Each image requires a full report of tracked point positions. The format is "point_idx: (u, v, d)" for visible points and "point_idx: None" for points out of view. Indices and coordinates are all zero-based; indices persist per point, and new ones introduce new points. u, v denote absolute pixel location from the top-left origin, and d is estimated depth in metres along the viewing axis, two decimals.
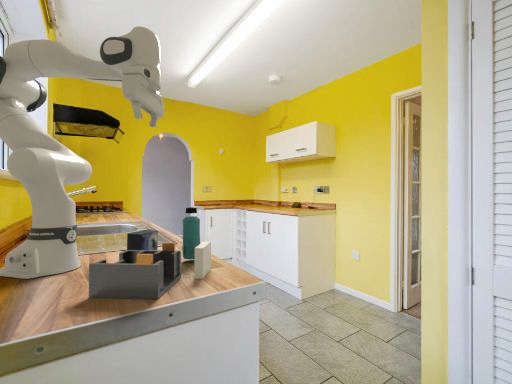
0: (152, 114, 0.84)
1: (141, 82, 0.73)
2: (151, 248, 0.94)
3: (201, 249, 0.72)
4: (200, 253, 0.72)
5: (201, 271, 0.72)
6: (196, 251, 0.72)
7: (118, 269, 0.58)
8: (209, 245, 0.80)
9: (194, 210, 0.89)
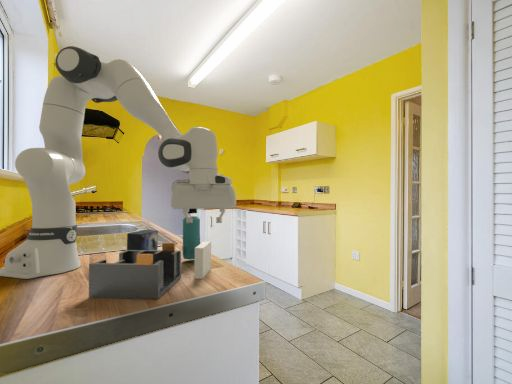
0: (187, 208, 0.77)
1: None
2: (151, 248, 0.94)
3: (201, 249, 0.72)
4: (200, 253, 0.72)
5: (201, 271, 0.72)
6: (196, 251, 0.72)
7: (118, 269, 0.58)
8: (209, 245, 0.80)
9: (194, 210, 0.89)
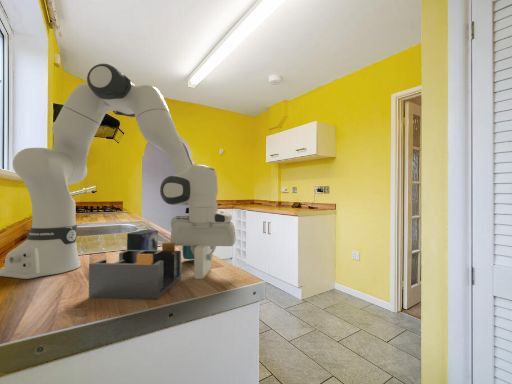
0: (195, 245, 0.77)
1: None
2: (151, 248, 0.94)
3: (201, 249, 0.72)
4: (200, 253, 0.72)
5: (201, 271, 0.72)
6: (196, 251, 0.72)
7: (118, 269, 0.58)
8: None
9: None
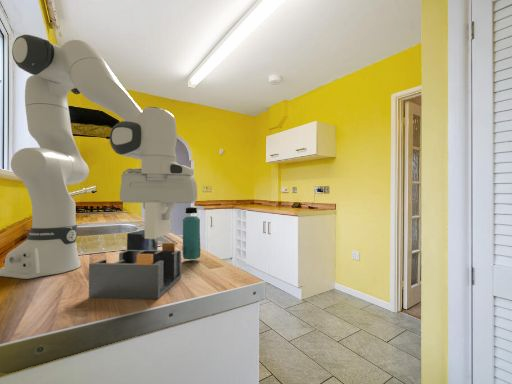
0: None
1: None
2: (151, 248, 0.94)
3: (152, 204, 0.61)
4: (151, 208, 0.61)
5: (152, 230, 0.61)
6: (147, 206, 0.61)
7: (118, 269, 0.58)
8: None
9: (194, 210, 0.89)
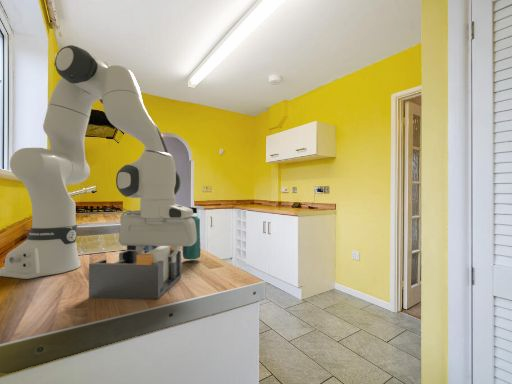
0: None
1: None
2: (151, 248, 0.94)
3: None
4: None
5: None
6: None
7: (118, 269, 0.58)
8: (166, 250, 0.68)
9: (194, 210, 0.89)
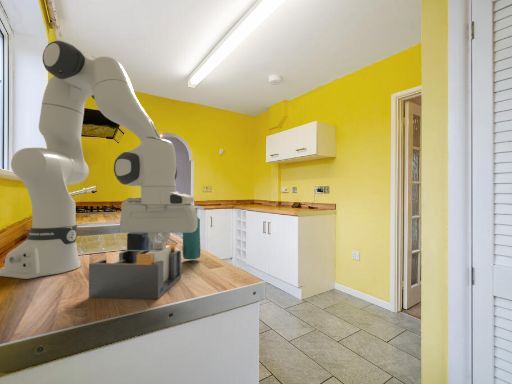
0: None
1: None
2: (151, 248, 0.94)
3: None
4: None
5: None
6: None
7: (118, 269, 0.58)
8: (167, 250, 0.68)
9: None
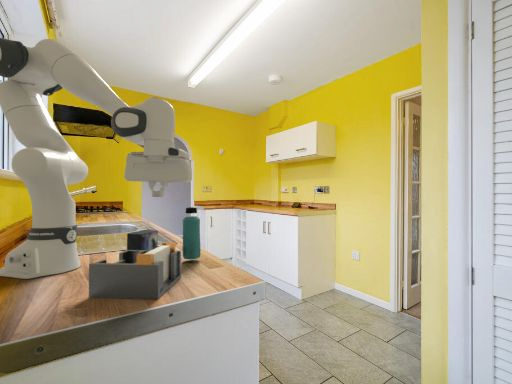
0: (154, 181, 0.75)
1: None
2: (151, 248, 0.94)
3: None
4: None
5: None
6: None
7: (118, 269, 0.58)
8: (166, 250, 0.68)
9: (194, 210, 0.89)
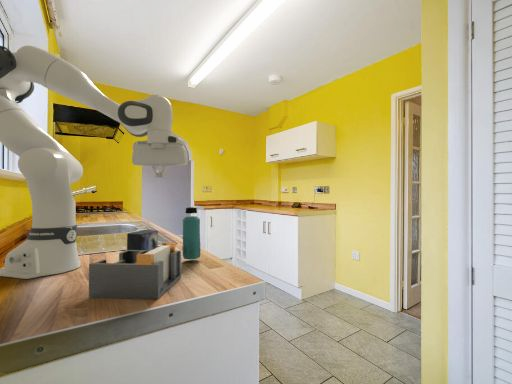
0: (156, 165, 0.91)
1: None
2: (151, 248, 0.94)
3: None
4: None
5: None
6: None
7: (118, 269, 0.58)
8: (166, 250, 0.68)
9: (194, 210, 0.89)
